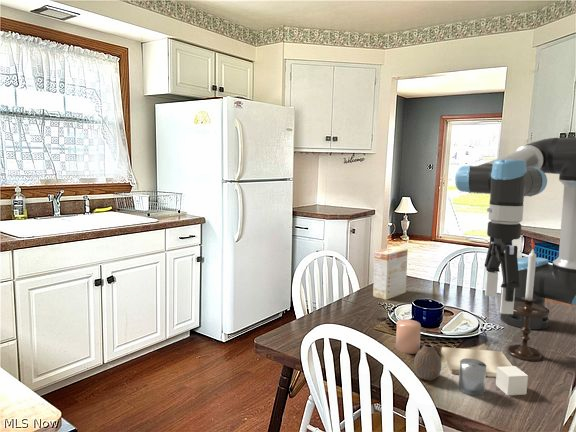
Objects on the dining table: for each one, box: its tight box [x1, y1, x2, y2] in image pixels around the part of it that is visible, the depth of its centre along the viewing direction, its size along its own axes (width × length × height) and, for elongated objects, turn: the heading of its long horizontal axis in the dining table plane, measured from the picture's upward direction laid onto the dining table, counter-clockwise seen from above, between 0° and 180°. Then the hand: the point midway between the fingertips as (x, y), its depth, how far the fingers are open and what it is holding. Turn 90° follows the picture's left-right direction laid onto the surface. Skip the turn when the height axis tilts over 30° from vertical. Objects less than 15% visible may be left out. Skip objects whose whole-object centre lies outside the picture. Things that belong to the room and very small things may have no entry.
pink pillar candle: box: [395, 318, 422, 355], centre depth 132 cm, size 7×7×8 cm
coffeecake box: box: [372, 246, 408, 301], centre depth 184 cm, size 15×7×20 cm, turn 133°
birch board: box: [441, 346, 513, 378], centre depth 123 cm, size 17×14×1 cm
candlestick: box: [506, 237, 550, 362], centre depth 127 cm, size 11×11×35 cm
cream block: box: [495, 365, 529, 396], centre depth 109 cm, size 5×5×5 cm
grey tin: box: [457, 358, 487, 398], centre depth 108 cm, size 6×6×7 cm
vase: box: [413, 343, 442, 381], centre depth 115 cm, size 7×7×9 cm
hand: (498, 304), depth 111 cm, fingers open, 13 cm apart
